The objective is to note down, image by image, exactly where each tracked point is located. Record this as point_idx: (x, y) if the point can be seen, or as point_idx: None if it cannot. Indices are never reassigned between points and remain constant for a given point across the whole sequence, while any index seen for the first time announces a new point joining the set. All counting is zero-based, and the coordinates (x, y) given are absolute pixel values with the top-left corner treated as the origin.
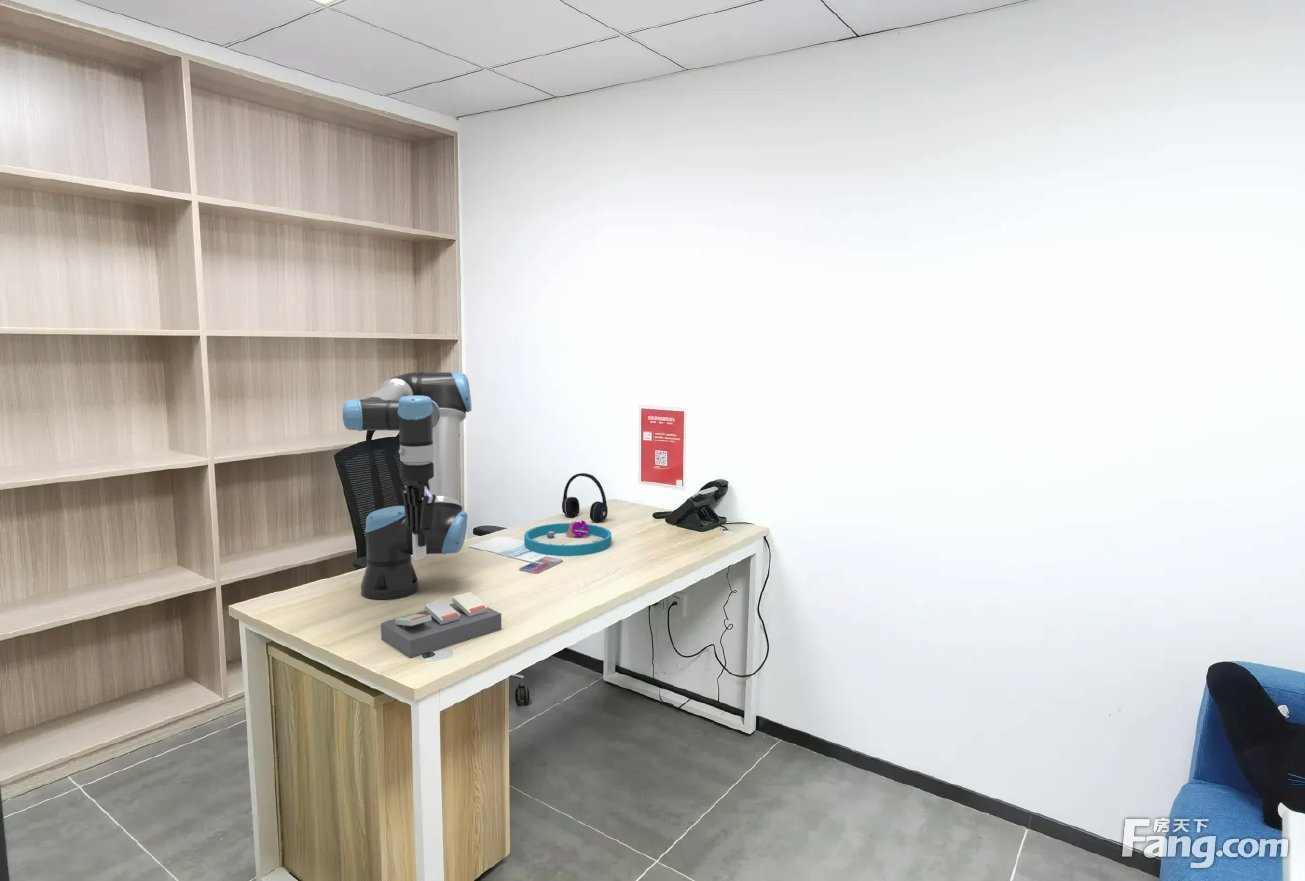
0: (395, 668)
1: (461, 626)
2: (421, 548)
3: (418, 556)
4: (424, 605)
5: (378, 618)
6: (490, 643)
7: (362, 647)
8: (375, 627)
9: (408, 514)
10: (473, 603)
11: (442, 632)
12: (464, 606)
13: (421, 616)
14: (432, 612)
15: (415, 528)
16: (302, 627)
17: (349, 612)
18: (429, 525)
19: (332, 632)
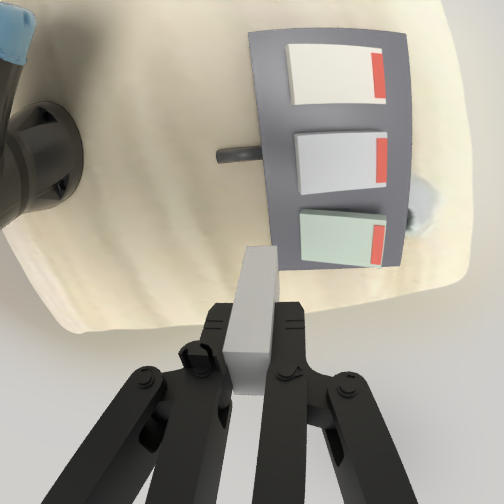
0: (403, 278)
1: (411, 147)
2: (276, 299)
3: (278, 288)
4: (300, 193)
5: (166, 216)
6: (440, 104)
7: (289, 285)
8: (210, 237)
9: (148, 470)
10: (351, 68)
11: (408, 196)
12: (356, 99)
13: (381, 243)
14: (343, 189)
15: (227, 401)
16: (153, 314)
17: (116, 245)
18: (376, 423)
19: (194, 295)
